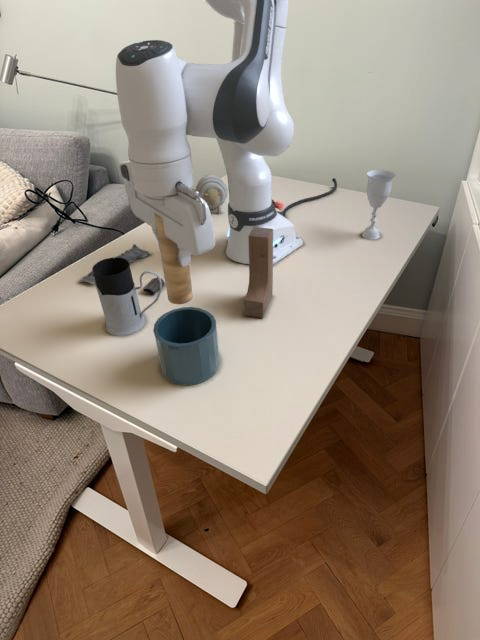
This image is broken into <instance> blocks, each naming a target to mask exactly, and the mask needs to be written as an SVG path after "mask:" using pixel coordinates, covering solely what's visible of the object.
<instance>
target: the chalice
mask: <svg viewBox="0 0 480 640" xmlns="http://www.w3.org/2000/svg"><path fill="white" fill-rule="evenodd" d="M366 176H367V178H368V179H367V184H366V196H367V200H368V203H369V205H370V208H372V209H373V210H372V212H371V218H370V219H369V220H370V225H369V226H366V228H365V229H364V230H363V233H361V236H362V238H364V239H367V240H374V241H375V240H378V239H380V237H381V234H380V231H379V228H378V227H376V225H375V224H376V222H377V221H378V220H377V216H378V209H380V208H381V207H382V206H383V205H384V203H385V202H386V201H387V199H388V197H389V196H390V194H391V190H392V184H393V180H394V178H395V177H396V174H395V173H394V172H392V171H391V170H390V171H389V170H384V169H372V170H369V171H368V172H367V173H366Z"/></svg>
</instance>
